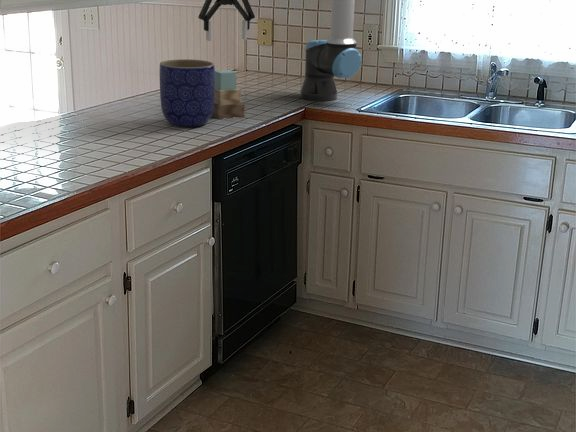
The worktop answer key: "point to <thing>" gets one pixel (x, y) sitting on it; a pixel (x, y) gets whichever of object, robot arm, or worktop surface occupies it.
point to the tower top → (227, 97)
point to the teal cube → (225, 80)
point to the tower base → (228, 111)
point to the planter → (187, 91)
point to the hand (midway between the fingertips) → (226, 40)
